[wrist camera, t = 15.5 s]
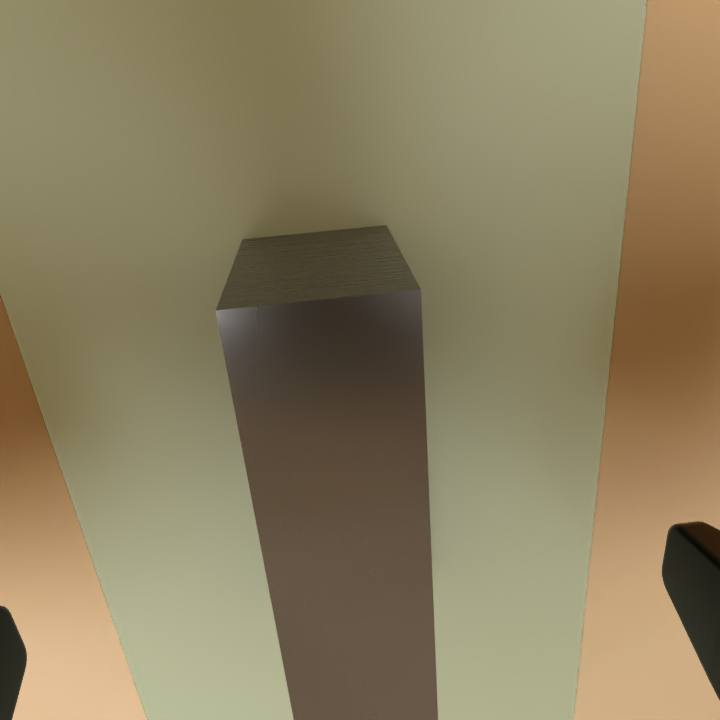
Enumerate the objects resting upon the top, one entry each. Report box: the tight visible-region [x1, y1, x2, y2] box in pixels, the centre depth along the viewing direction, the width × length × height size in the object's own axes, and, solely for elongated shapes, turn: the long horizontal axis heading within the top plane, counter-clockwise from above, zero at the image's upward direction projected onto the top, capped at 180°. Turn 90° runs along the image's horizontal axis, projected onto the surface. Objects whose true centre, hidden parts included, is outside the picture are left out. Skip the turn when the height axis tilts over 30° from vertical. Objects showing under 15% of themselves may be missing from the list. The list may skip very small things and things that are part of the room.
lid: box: [0, 0, 647, 720], centre depth 11 cm, size 11×24×4 cm, turn 5°
